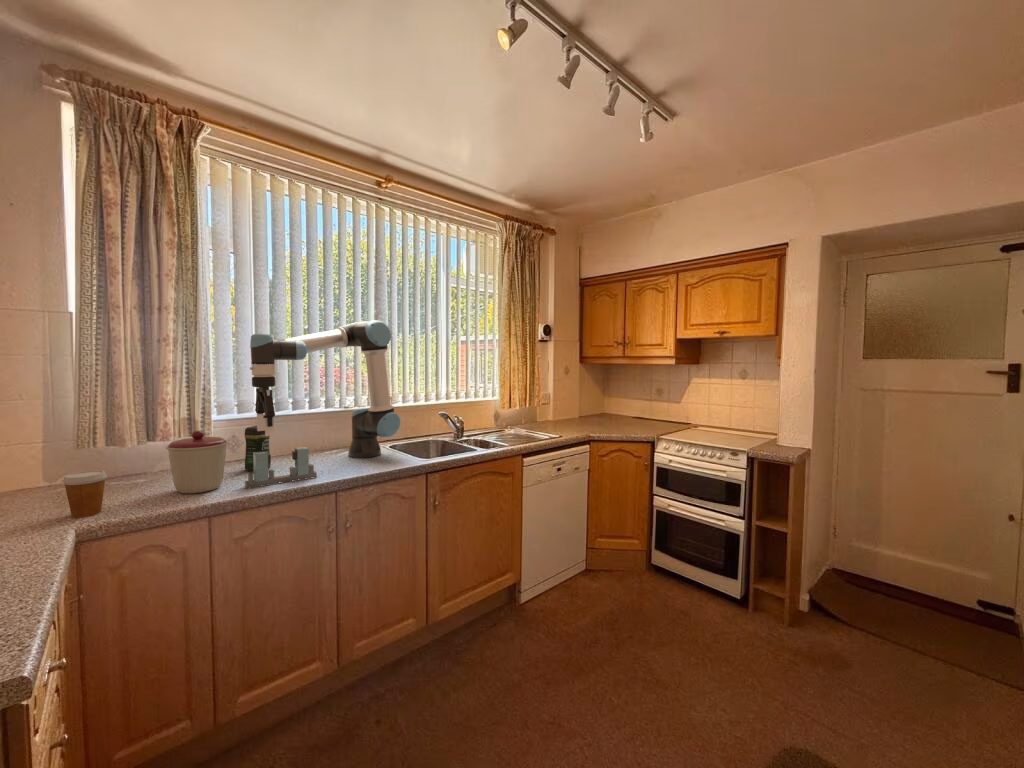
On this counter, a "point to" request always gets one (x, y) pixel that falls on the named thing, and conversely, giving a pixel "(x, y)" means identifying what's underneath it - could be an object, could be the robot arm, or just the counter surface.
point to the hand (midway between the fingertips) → (265, 433)
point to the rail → (297, 472)
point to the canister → (197, 463)
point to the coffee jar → (255, 445)
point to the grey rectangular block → (261, 465)
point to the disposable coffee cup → (85, 492)
